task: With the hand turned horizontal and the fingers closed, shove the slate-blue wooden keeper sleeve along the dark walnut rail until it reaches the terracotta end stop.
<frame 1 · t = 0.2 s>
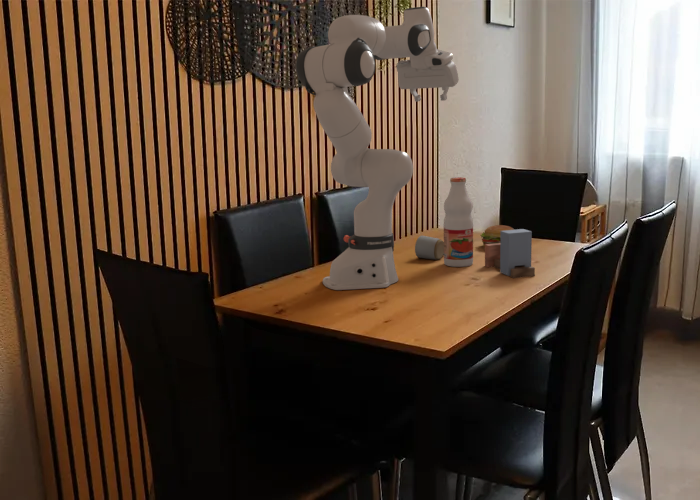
hand: (430, 100, 230), 52 cm above the table, tool tilted 20°, fingers open, 8 cm apart
keeper: (515, 252, 211), point 7 cm above the table, slide at 0.0 cm
food: (499, 248, 253), on the table
rail: (509, 270, 216), on the table
ceramic mug: (431, 258, 239), on the table
fruit juice: (458, 264, 228), on the table
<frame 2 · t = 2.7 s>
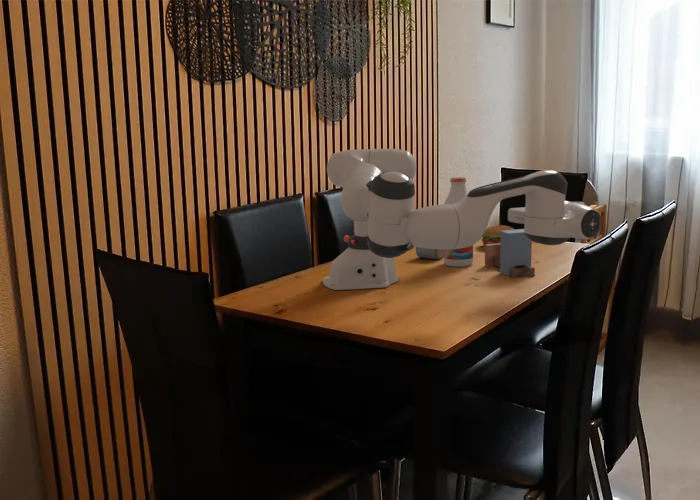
hand: (530, 210, 201), 20 cm above the table, tool horizontal, fingers open, 8 cm apart
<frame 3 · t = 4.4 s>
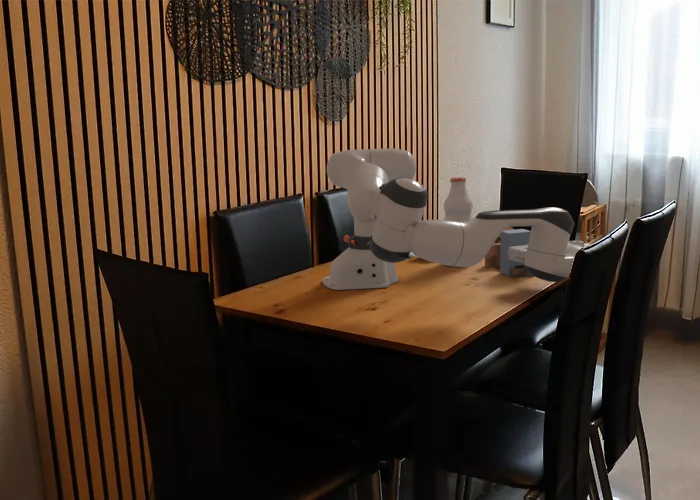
hand: (530, 246, 203), 10 cm above the table, tool horizontal, fingers closed
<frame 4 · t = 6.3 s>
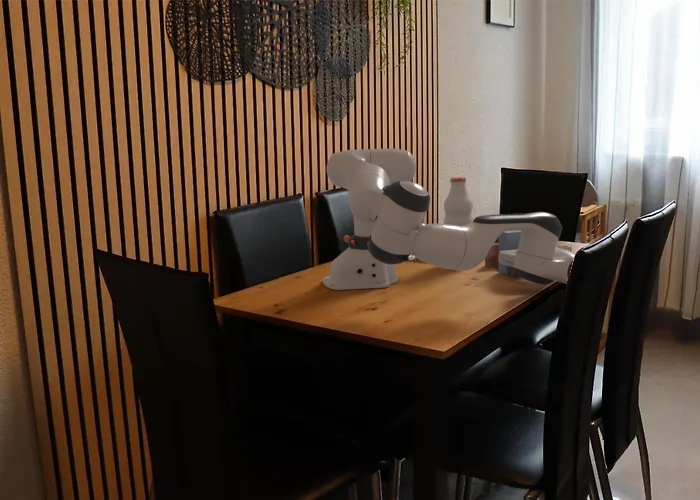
hand: (519, 251, 210), 7 cm above the table, tool horizontal, fingers closed, pressing on keeper
keeper: (514, 251, 212), point 7 cm above the table, slide at 1.0 cm, touching gripper
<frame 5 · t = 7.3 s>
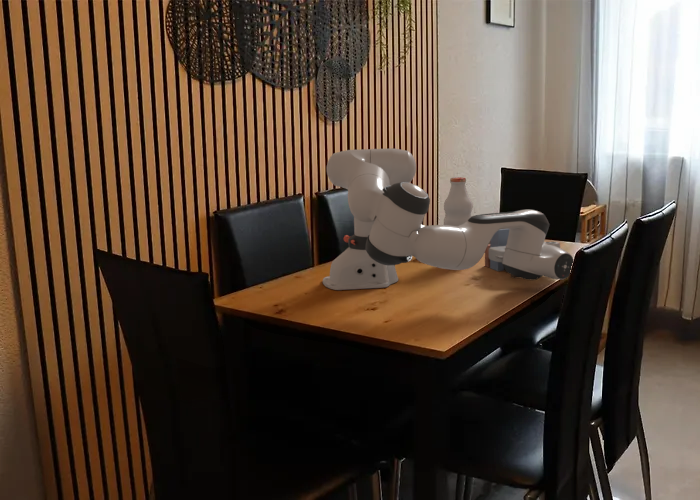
hand: (510, 247, 215), 7 cm above the table, tool horizontal, fingers closed, pressing on keeper
keeper: (505, 248, 218), point 7 cm above the table, slide at 6.6 cm, touching gripper
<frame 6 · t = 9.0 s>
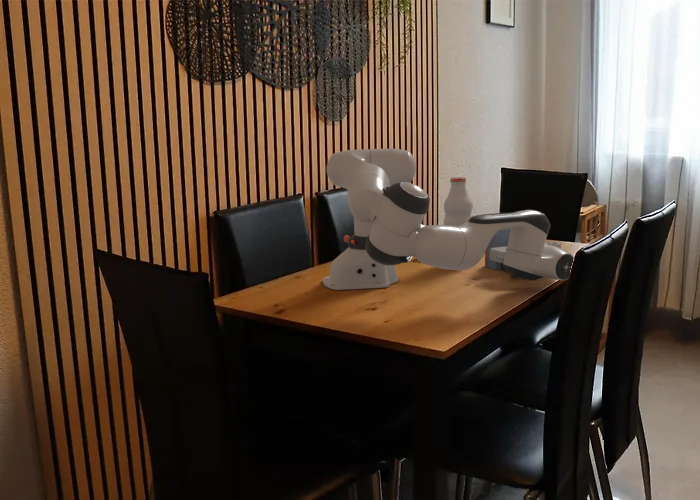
hand: (510, 248, 215), 7 cm above the table, tool horizontal, fingers closed
keeper: (502, 247, 219), point 7 cm above the table, slide at 8.1 cm
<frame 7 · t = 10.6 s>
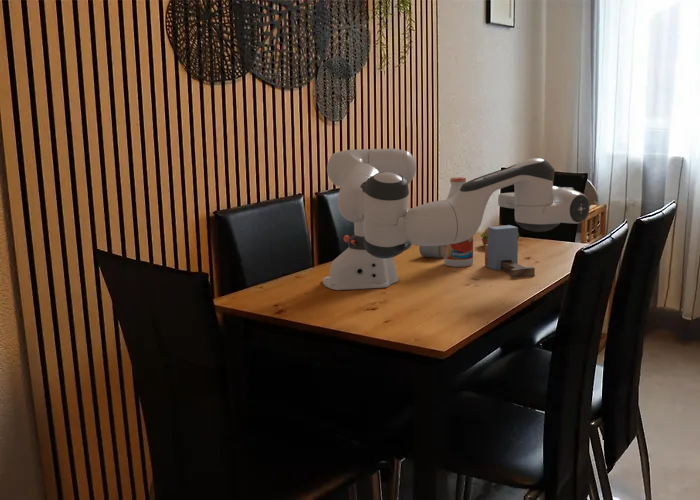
hand: (520, 195, 204), 24 cm above the table, tool horizontal, fingers closed
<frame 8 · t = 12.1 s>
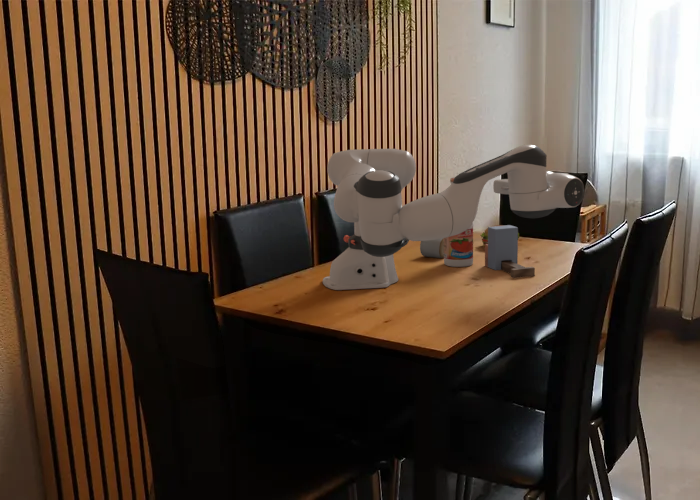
hand: (515, 182, 204), 28 cm above the table, tool horizontal, fingers closed
at the end: keeper slide at 8.1 cm; keeper touching nothing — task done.
